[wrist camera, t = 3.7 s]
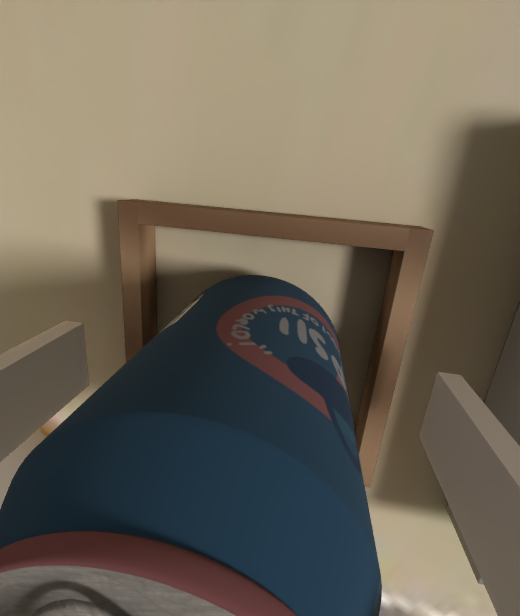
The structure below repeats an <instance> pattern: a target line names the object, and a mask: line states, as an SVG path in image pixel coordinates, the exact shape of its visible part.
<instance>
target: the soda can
mask: <svg viewBox="0 0 520 616" xmlns="http://www.w3.org/2000/svg"><path fill="white" fill-rule="evenodd" d="M381 591H382V584H381V574H380V569H379V563H378V558H377V552H376V547H375V541H374V536H373V530H372V525H371V519H370V513H369V508H368V502H367V497H366V491H365V486H364V480H363V475H362V469H361V464H360V458H359V453H358V447H357V442H356V436H355V431H354V425H353V420H352V414H351V409H350V403H349V398H348V392H347V387H346V381H345V376H344V370H343V365H342V359H341V354H340V348H339V343H338V338H337V335H336V331H335V329H334V326H333V324H332V322H331V320H330V319H329V317H328V315H327V314H326V312H325V311H324V310H323V308H322V307H321V306H320V305H319V304H318V303H317V302H316V301H315V300H314V299H313V298H312V297H311V296H310V295H309V294H307V293H306V292H304V291H303V290H301V289H300V288H298V287H296V286H294V285H292V284H290V283H288V282H286V281H283V280H280V279H277V278H273V277H267V276H259V275H247V276H239V277H234V278H230V279H227V280H224V281H221V282H219V283H217V284H215V285H213V286H211V287H210V288H208V289H206V290H205V291H204V292H202V293H201V294H200V295H199V296H198V297H197V298H196V299H195V300H194V301H193V302H191V303H190V304H189V305H188V306H187V307H186V308H185V309H184V310H183V311H182V312H181V313H180V314H179V315H177V316H176V317H175V318H174V319H173V320H172V321H171V322H170V323H169V324H168V325H167V326H166V327H165V328H163V329H162V330H161V331H160V332H159V333H158V334H157V335H156V336H155V337H154V338H153V339H152V340H151V341H150V342H148V343H147V344H146V345H145V346H144V347H143V348H142V349H141V350H140V351H139V352H138V353H137V354H136V355H134V356H133V357H132V358H131V359H130V360H129V361H128V362H127V363H126V364H125V365H124V366H123V367H122V368H120V369H119V370H118V371H117V372H116V373H115V374H114V375H113V376H112V377H111V378H110V379H109V380H108V381H106V382H105V383H104V384H103V385H102V386H101V387H100V388H99V389H98V390H97V391H96V392H95V393H94V394H93V395H91V396H90V397H89V398H88V399H87V400H86V401H85V402H84V403H83V404H82V405H81V406H80V407H79V408H77V409H76V410H75V411H74V412H73V413H72V414H71V415H70V416H69V417H68V418H67V419H66V420H65V421H63V422H62V423H61V424H60V425H59V426H58V427H57V428H56V429H55V430H54V431H53V432H52V433H51V434H49V435H48V436H47V437H46V438H45V439H44V440H43V441H42V442H41V443H40V444H39V445H38V446H37V447H36V448H34V449H33V451H32V452H31V453H30V454H29V455H28V456H27V457H26V458H25V460H24V461H23V463H22V464H21V465H20V467H19V468H18V470H17V472H16V474H15V476H14V477H13V479H12V481H11V484H10V486H9V489H8V491H7V494H6V496H5V499H4V501H3V504H2V507H1V509H0V616H379V611H380V604H381Z"/></svg>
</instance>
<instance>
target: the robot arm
mask: <svg viewBox="0 0 520 616" xmlns="http://www.w3.org/2000/svg"><path fill="white" fill-rule="evenodd" d="M88 385H89V379H88V368H87V358H86V348H85V338H84V327H83V323H79V322H72V321H63V322H61V323H59V324H57V325H55V326H53V327H51V328H49V329H47V330H45V331H44V332H42V333H40V334H38V335H36V336H34V337H32V338H30V339H28V340H26V341H24V342H22V343H21V344H19V345H17V346H15V347H13V348H11V349H9V350H7V351H5V352H3V353H1V354H0V462H1V461H2V460H3V459H4V458H5V457H7V456H8V455H9V454H10V453H11V452H12V451H14V450H15V449H16V448H17V447H18V446H19V445H20V444H22V443H23V442H24V441H25V440H26V439H27V438H28V437H30V436H31V435H32V434H33V433H34V432H35V431H37V430H38V429H39V428H40V427H41V426H42V425H44V424H45V423H46V422H47V421H48V420H49V419H50V418H52V417H53V416H54V415H55V414H56V413H57V412H58V411H60V410H61V409H62V408H63V407H64V406H65V405H67V404H68V403H69V402H70V401H71V400H72V399H73V398H75V397H76V396H77V395H78V394H79V393H80V392H81V391H83V390H84V389H85V388H86V387H87V386H88ZM419 439H420V441H421V443H422V446H423V448H424V450H425V452H426V455H427V457H428V459H429V461H430V464H431V466H432V468H433V470H434V473H435V475H436V477H437V479H438V482H439V484H440V486H441V488H442V491H443V493H444V495H445V497H446V500H447V502H448V504H449V506H450V509H451V511H452V513H453V515H454V518H455V520H456V522H457V524H458V527H459V529H460V531H461V533H462V536H463V538H464V540H465V542H466V545H467V547H468V549H469V552H470V554H471V556H472V558H473V561H474V563H475V565H476V567H477V570H478V572H479V574H480V576H481V579H482V581H483V583H484V585H485V588H486V590H487V592H488V594H489V597H490V599H491V601H492V603H493V606H494V608H495V610H496V612H497V615H498V616H520V446H519V445H518V444H517V442H516V441H515V440H514V439H513V438H512V436H511V435H510V434H509V433H508V432H507V430H506V429H505V428H504V427H503V425H502V424H501V423H500V422H499V421H498V419H497V418H496V417H495V416H494V415H493V413H492V412H491V411H490V410H489V408H488V407H487V406H486V405H485V404H484V402H483V401H482V400H481V399H480V398H479V396H478V395H477V394H476V393H475V392H474V390H473V389H472V388H471V387H470V385H469V384H468V383H467V382H466V381H465V379H464V378H463V377H462V376H461V375H457V374H450V373H443V372H437V376H436V379H435V382H434V386H433V389H432V393H431V396H430V399H429V403H428V406H427V410H426V413H425V417H424V420H423V423H422V427H421V430H420V434H419Z"/></svg>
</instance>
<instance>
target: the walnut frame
mask: <svg viewBox="0 0 520 616" xmlns="http://www.w3.org/2000/svg"><path fill="white" fill-rule="evenodd" d="M118 219H119V237H120V256H121V274H122V293H123V311H124V329H125V348H126V363H127V362H128V361H129V360H130V359H131V358H132V357H133V356H134V355H136V354H137V353H138V352H139V351H140V350H141V349H142V348H143V347H144V346H145V345H146V344H147V343H148V342H150V341H151V340H152V339H153V338H154V337H155V336H156V335H157V306H156V255H155V226H165V227H175V228H185V229H194V230H204V231H214V232H223V233H233V234H243V235H252V236H262V237H272V238H282V239H291V240H301V241H311V242H320V243H330V244H340V245H350V246H359V247H369V248H379V249H388V250H394V252H393V256H392V261H391V266H390V270H389V275H388V280H387V284H386V289H385V294H384V298H383V303H382V308H381V312H380V317H379V322H378V326H377V331H376V336H375V340H374V345H373V350H372V354H371V359H370V364H369V368H368V373H367V378H366V382H365V387H364V392H363V396H362V401H361V406H360V410H359V415H358V420H357V424H356V429H355V436H356V442H357V447H358V453H359V458H360V464H361V469H362V475H363V480H364V486H367V487H370V485H371V481H372V477H373V473H374V469H375V465H376V461H377V457H378V453H379V449H380V445H381V441H382V437H383V433H384V429H385V425H386V421H387V417H388V413H389V409H390V405H391V401H392V397H393V393H394V389H395V385H396V381H397V377H398V373H399V369H400V365H401V361H402V356H403V352H404V348H405V344H406V340H407V336H408V332H409V328H410V324H411V320H412V316H413V312H414V308H415V304H416V300H417V296H418V292H419V288H420V284H421V280H422V276H423V272H424V268H425V264H426V260H427V256H428V252H429V248H430V244H431V240H432V236H433V232H434V231H433V230H430V229H427V228H424V227H420V226H410V225H399V224H389V223H378V222H368V221H357V220H347V219H336V218H326V217H315V216H305V215H294V214H284V213H273V212H263V211H252V210H242V209H231V208H221V207H210V206H200V205H189V204H179V203H168V202H158V201H147V200H137V199H136V200H118Z"/></svg>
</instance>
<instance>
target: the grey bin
mask: <svg viewBox="0 0 520 616" xmlns="http://www.w3.org/2000/svg"><path fill="white" fill-rule="evenodd" d="M484 404H485V405H486V406H487V407H488V408H489V410H490V411H491V412H492V413H493V415H494V416H495V417H496V418H497V419H498V421H499V422H500V423H501V424H502V425H503V427H504V428H505V429H506V430H507V432H508V433H509V434H510V435H511V436H512V438H513V439H514V440H515V441H516V442H517V444H518V445H519V446H520V303H519V306H518V309H517V312H516V314H515V317H514V320H513V323H512V326H511V328H510V331H509V334H508V337H507V340H506V342H505V345H504V348H503V351H502V354H501V357H500V359H499V362H498V365H497V368H496V371H495V373H494V376H493V379H492V382H491V385H490V387H489V390H488V393H487V396H486V399H485V401H484ZM446 509H447V512H448V514H449V516H450V519H451V521H452V523H453V526H454V528H455V530H456V533H457V535H458V537H459V540H460V542H461V544H462V547H463V549H464V551H465V553H466V556H467V558H468V560H469V563H470V565H471V567H472V570H473V572H474V574H475V577H476V579H477V581H478V583H479V584H484V583H483V581H482V579H481V576H480V574H479V572H478V570H477V567H476V565H475V563H474V561H473V558H472V556H471V554H470V552H469V549H468V547H467V545H466V542H465V540H464V538H463V536H462V533H461V531H460V529H459V527H458V524H457V522H456V520H455V518H454V515H453V513H452V511H451V509H450V506H449V504H448V505H447V508H446Z"/></svg>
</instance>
